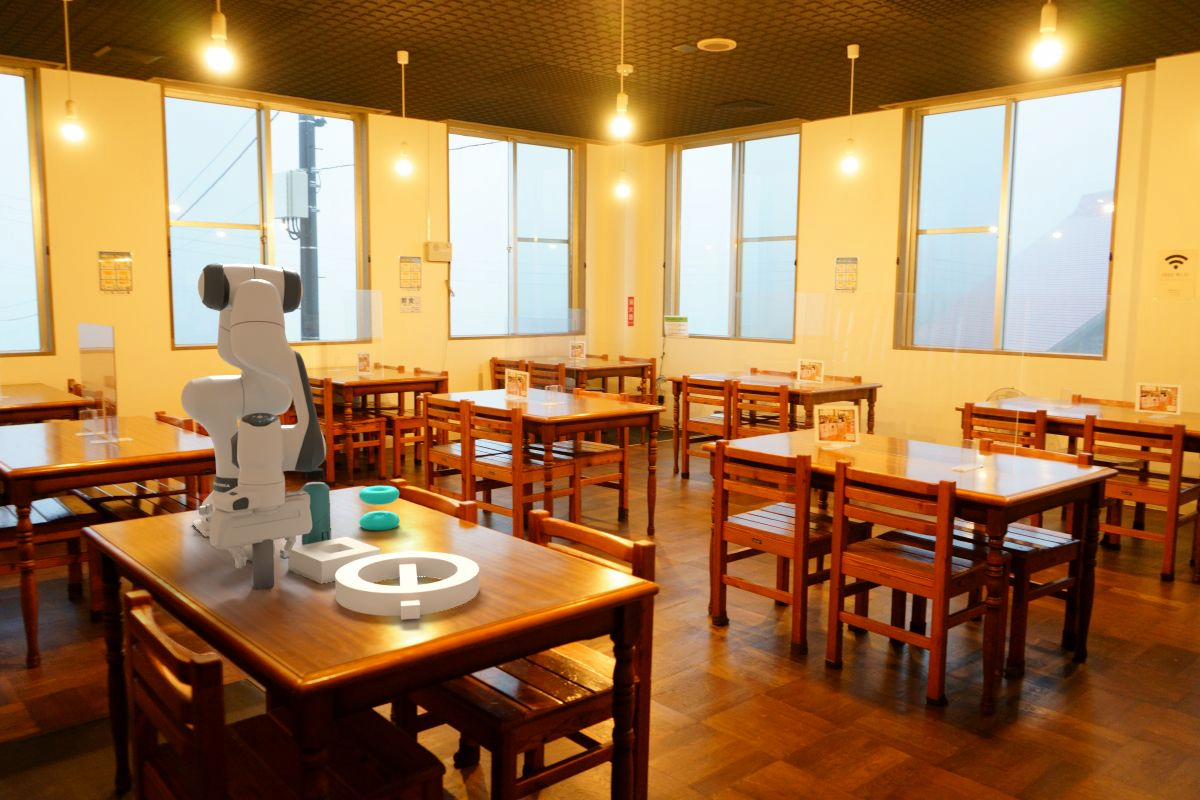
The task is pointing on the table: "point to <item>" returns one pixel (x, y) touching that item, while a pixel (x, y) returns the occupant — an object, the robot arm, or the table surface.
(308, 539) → the beverage bottle
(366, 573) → the white circle with bar
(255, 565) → the grey rectangular block
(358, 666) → the table surface
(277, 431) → the robot arm
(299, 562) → the stand
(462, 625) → the table surface
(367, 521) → the donuts
